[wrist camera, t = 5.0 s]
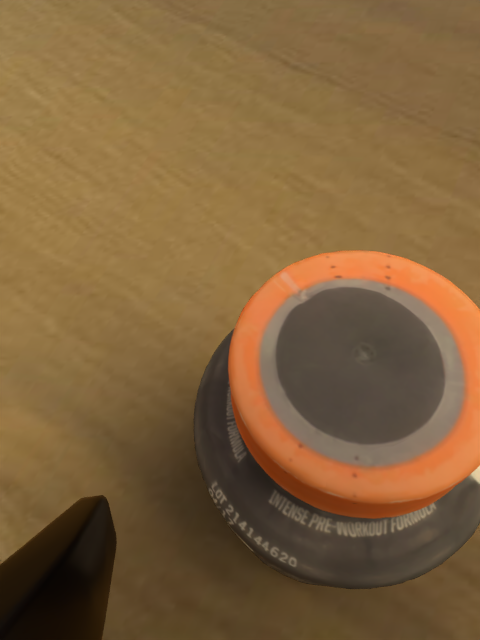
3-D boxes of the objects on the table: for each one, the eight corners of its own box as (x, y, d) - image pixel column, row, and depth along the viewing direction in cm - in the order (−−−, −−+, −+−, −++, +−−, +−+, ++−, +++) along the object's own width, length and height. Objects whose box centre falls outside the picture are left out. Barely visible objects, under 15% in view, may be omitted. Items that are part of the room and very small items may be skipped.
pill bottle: (420, 453, 16) (637, 275, 7) (359, 622, 14) (552, 740, 4) (275, 382, 18) (274, 158, 8) (198, 522, 16) (72, 441, 6)
